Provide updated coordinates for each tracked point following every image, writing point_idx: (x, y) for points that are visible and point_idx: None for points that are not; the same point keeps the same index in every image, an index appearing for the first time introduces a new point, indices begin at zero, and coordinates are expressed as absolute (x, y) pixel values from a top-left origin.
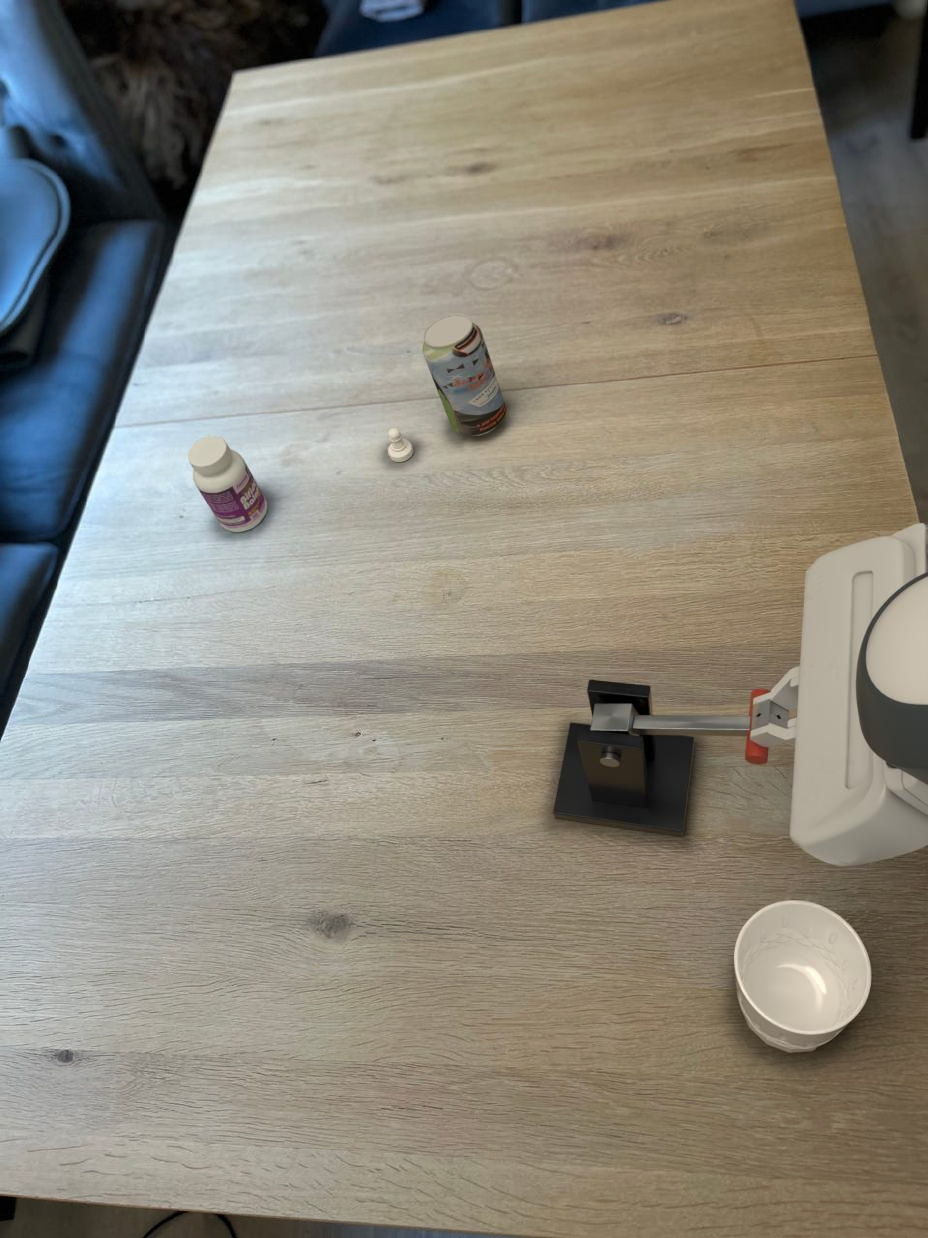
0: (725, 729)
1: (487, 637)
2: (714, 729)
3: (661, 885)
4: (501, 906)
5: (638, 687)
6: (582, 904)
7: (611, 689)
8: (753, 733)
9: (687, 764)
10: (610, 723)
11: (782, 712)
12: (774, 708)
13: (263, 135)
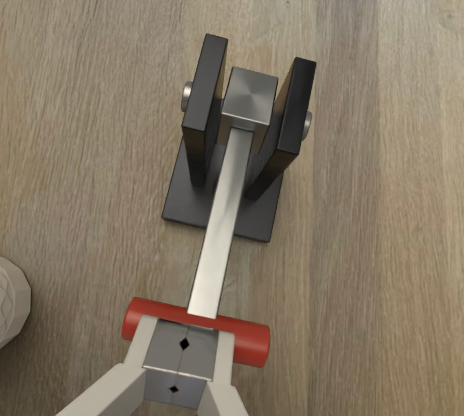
0: (197, 269)
1: (398, 49)
2: (202, 250)
3: (115, 193)
4: (111, 44)
5: (296, 135)
6: (104, 117)
7: (295, 93)
8: (144, 324)
9: (237, 231)
10: (238, 91)
11: (189, 397)
12: (191, 385)
13: None
